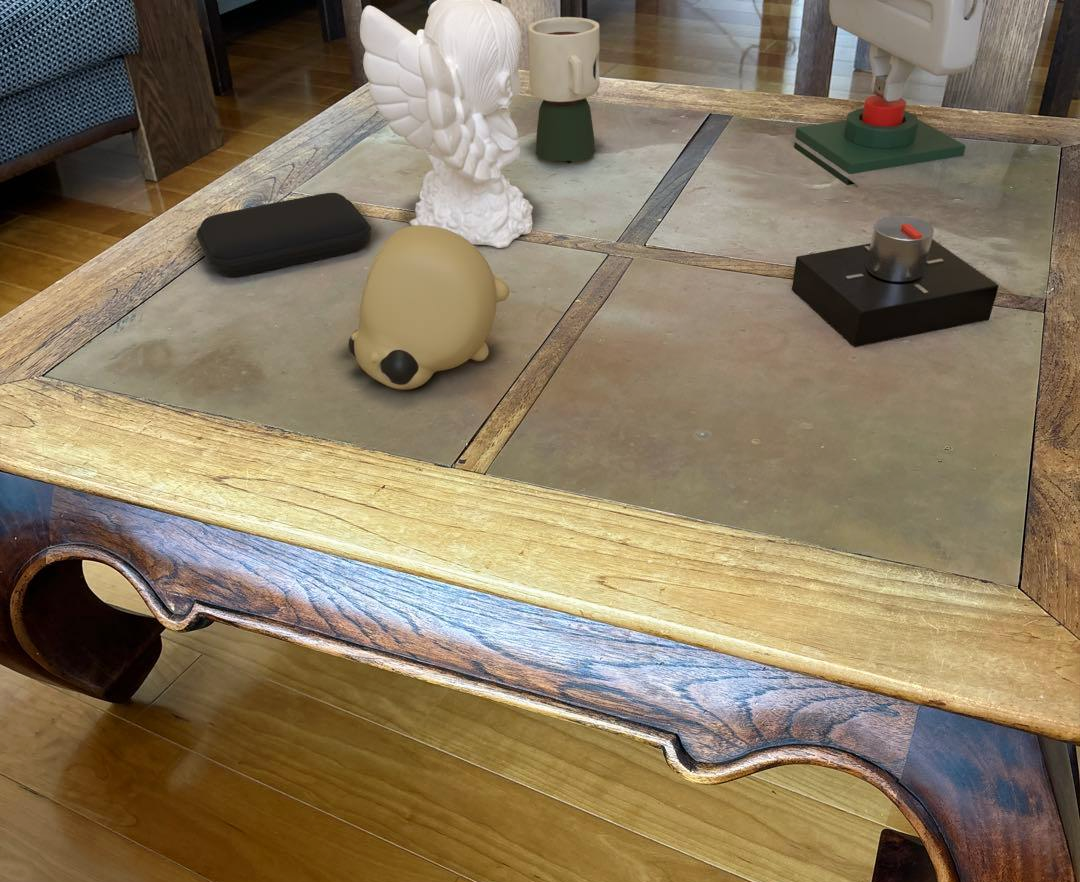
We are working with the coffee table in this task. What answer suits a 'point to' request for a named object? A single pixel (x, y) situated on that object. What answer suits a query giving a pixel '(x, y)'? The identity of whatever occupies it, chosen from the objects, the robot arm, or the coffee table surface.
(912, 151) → the lamp switch
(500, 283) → the tan pug toy
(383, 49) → the cherub figurine
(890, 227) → the dimmer knob
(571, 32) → the character mug
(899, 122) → the light button
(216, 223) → the carrying case
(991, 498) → the coffee table surface
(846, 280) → the dimmer panel
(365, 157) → the coffee table surface
